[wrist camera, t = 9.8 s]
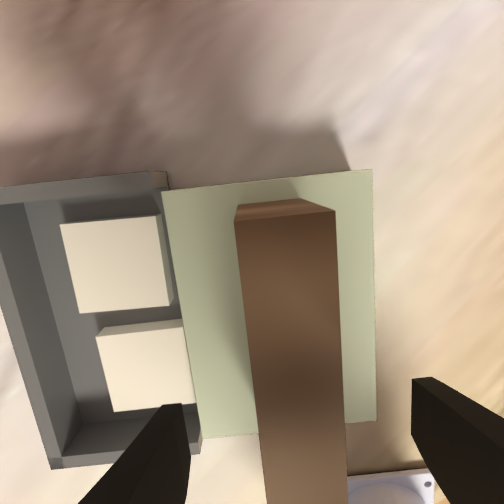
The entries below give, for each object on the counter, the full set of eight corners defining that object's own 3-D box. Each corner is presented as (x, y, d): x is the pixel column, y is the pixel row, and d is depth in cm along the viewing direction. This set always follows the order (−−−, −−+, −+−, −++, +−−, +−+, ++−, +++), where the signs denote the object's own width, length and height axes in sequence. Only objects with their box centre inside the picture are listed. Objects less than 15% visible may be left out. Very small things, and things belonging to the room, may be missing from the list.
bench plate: (358, 386, 21) (376, 420, 18) (208, 402, 21) (202, 439, 18) (351, 170, 18) (372, 169, 15) (174, 189, 18) (161, 191, 15)
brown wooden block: (315, 412, 18) (349, 526, 12) (261, 417, 18) (269, 534, 12) (300, 197, 15) (335, 210, 9) (236, 204, 15) (231, 221, 9)
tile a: (199, 389, 20) (196, 402, 19) (121, 398, 20) (113, 411, 19) (186, 318, 19) (182, 327, 18) (104, 327, 19) (95, 337, 18)
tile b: (173, 297, 19) (169, 305, 18) (90, 305, 19) (79, 313, 18) (161, 213, 18) (155, 216, 16) (71, 221, 18) (59, 224, 16)
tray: (206, 415, 21) (200, 453, 18) (77, 429, 21) (51, 469, 18) (166, 171, 18) (151, 170, 15) (11, 188, 18) (-36, 190, 15)
